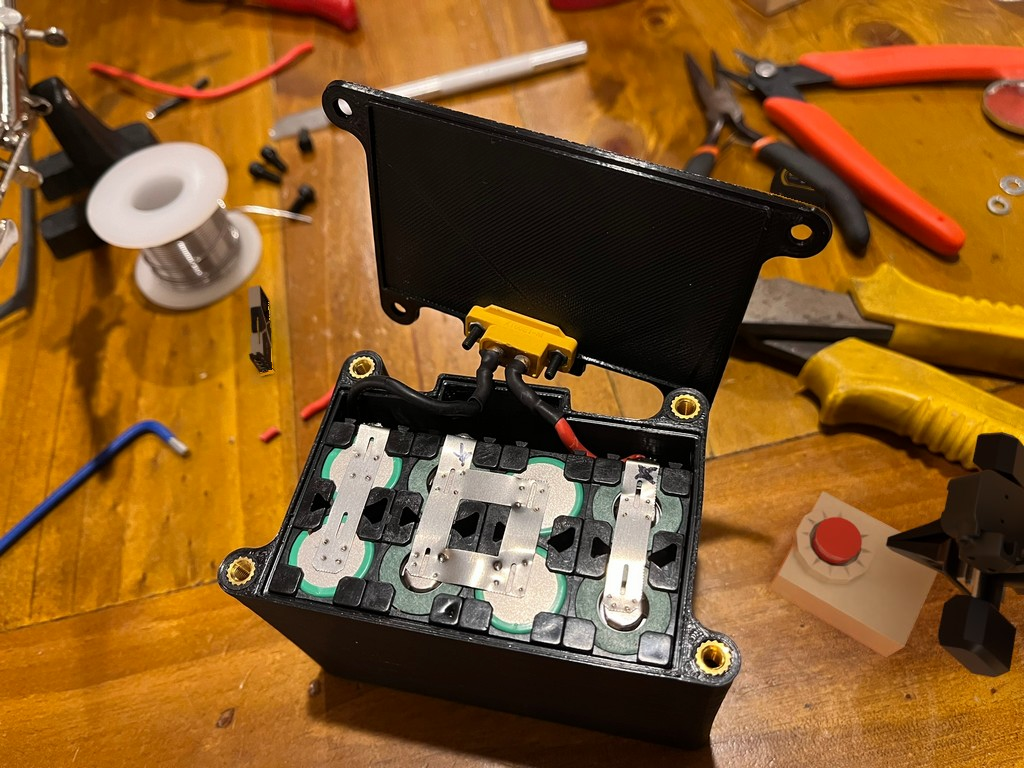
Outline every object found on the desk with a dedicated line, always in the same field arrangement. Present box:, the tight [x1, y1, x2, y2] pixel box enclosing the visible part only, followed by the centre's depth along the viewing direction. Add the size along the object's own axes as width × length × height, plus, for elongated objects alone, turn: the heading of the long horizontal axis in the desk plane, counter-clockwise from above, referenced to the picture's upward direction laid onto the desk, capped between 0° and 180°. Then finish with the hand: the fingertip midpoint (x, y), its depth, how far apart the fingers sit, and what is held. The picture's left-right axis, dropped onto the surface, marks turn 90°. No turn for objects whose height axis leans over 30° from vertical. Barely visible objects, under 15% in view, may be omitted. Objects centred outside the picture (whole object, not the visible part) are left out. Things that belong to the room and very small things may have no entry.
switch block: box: [768, 491, 939, 658], centre depth 74 cm, size 12×10×7 cm
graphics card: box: [248, 284, 275, 373], centre depth 98 cm, size 12×3×5 cm, turn 12°
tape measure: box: [769, 166, 827, 211], centre depth 100 cm, size 7×7×4 cm
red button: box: [812, 517, 862, 564], centre depth 72 cm, size 4×4×2 cm
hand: (888, 543), depth 68 cm, fingers closed
